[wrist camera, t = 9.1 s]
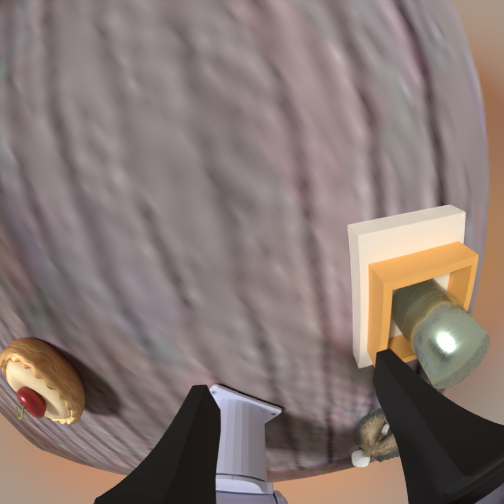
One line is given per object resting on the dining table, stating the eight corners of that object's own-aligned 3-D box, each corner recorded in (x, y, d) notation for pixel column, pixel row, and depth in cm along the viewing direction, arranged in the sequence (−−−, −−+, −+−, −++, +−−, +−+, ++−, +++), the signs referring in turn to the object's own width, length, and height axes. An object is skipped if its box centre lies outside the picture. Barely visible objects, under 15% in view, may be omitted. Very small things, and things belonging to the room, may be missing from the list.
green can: (408, 332, 19) (446, 394, 12) (378, 308, 18) (420, 379, 11) (445, 292, 17) (495, 346, 11) (419, 263, 16) (478, 320, 10)
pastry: (109, 386, 26) (87, 448, 17) (69, 402, 28) (49, 450, 20) (32, 312, 21) (-11, 368, 13) (7, 345, 23) (-23, 389, 15)
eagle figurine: (402, 433, 29) (422, 412, 24) (387, 475, 24) (406, 465, 19) (357, 422, 33) (367, 400, 28) (338, 463, 28) (346, 451, 23)
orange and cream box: (435, 325, 21) (458, 355, 17) (352, 352, 22) (367, 390, 18) (449, 204, 17) (487, 223, 13) (347, 224, 17) (373, 252, 13)
